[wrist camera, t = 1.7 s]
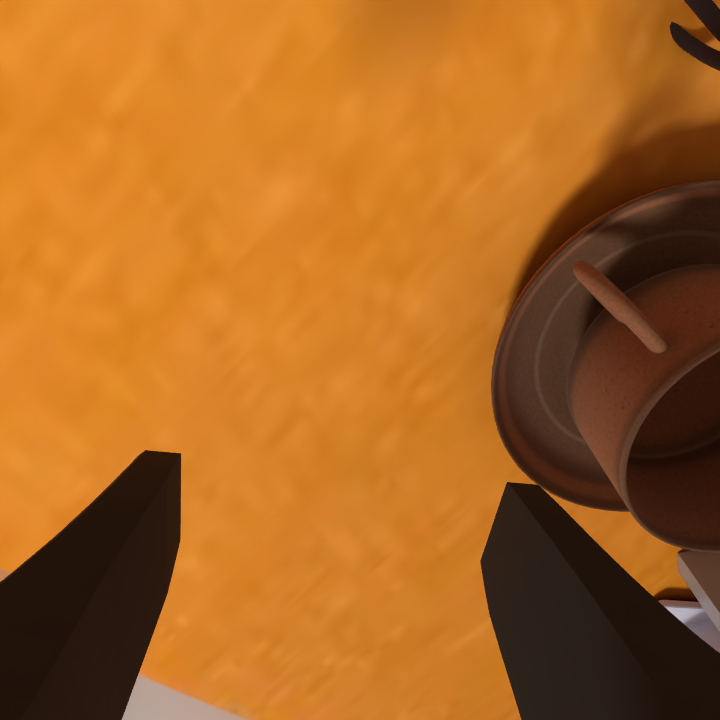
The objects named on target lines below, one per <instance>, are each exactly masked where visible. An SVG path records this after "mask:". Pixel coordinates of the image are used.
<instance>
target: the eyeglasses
mask: <svg viewBox="0 0 720 720" xmlns="http://www.w3.org/2000/svg"><path fill="white" fill-rule="evenodd" d="M684 1H685V2H686V3H687V4H688V6H689V7H690V8H691V9H692V10H693V12H694V13H695V14H696V15H697V16H698V18H699V19H700V20H701V21H702V22H703V23H704V25H705V26H706V27H707V28H708V29H709V30H710V32H711V33H712V34H713V35H714V36H715V37H716V39H717V40H718V41H719V42H720V9H719V8H718V7H717V5H716V4H715V3H714V2H713V1H712V0H684ZM670 31H671V35H672V37H673V39H674V41H675V42H676V43H677V44H678V45H679V47H681V48H682V49H683V50H684V51H686V52H687V53H689V54H690V55H692V56H693V57H695V58H696V59H698V60H699V61H701V62H703V63H705V64H707V65H708V66H710V67H712V68H715V69H717V70H719V71H720V51H718V50H715V49H713V48H711V47H709V46H707V45H706V44H704V43H702V42H701V41H699V40H698V39H696V38H695V37H693V36H692V35H690V34H689V33H688V32H686V31H685V30H684V29H683V28H681V27H680V26H679V25H678V24H676V23H673V22H671V25H670Z"/></svg>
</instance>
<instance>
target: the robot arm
mask: <svg viewBox="0 0 720 720" xmlns="http://www.w3.org/2000/svg"><path fill="white" fill-rule="evenodd" d="M180 525H181V453H169V452H158V451H147V450H145V451H144V452H143V453H141V454H140V455H139V456H138V457H137V458H136V459H135V460H134V461H133V462H132V463H131V464H130V465H129V466H128V467H127V468H126V469H125V470H124V471H123V472H122V473H121V474H120V475H119V476H118V477H117V478H116V479H115V480H114V481H113V482H112V483H111V484H110V485H109V486H108V487H107V488H106V489H105V490H104V491H103V492H102V493H101V494H100V495H99V496H98V497H97V498H96V499H95V500H94V501H93V502H92V503H91V504H90V505H89V506H88V507H87V508H86V509H84V510H83V511H82V512H81V513H80V514H79V515H78V516H77V517H76V518H75V519H74V520H73V521H71V522H70V523H69V524H68V525H67V526H66V527H65V528H64V529H63V530H62V531H61V532H60V533H58V534H57V535H56V536H55V537H54V538H53V539H52V540H50V541H49V542H48V543H47V544H46V545H44V546H43V547H42V548H41V549H40V550H39V551H37V552H36V553H35V554H34V555H33V556H31V557H30V558H29V559H28V560H27V561H25V562H24V563H23V564H22V565H21V566H20V567H18V568H17V569H16V570H15V571H14V572H12V573H11V574H10V575H9V576H7V577H6V578H5V579H4V580H2V581H1V582H0V720H121V719H122V717H123V714H124V712H125V709H126V706H127V703H128V701H129V698H130V695H131V693H132V689H133V687H134V684H135V682H136V679H137V676H138V673H139V671H140V668H141V665H142V662H143V660H144V657H145V654H146V652H147V649H148V646H149V643H150V641H151V638H152V635H153V632H154V630H155V627H156V624H157V621H158V618H159V616H160V613H161V610H162V607H163V605H164V602H165V599H166V596H167V593H168V589H169V585H170V581H171V577H172V573H173V569H174V565H175V560H176V556H177V552H178V548H179V543H180ZM481 568H482V574H483V580H484V587H485V592H486V598H487V603H488V609H489V614H490V617H491V621H492V624H493V628H494V631H495V634H496V638H497V641H498V644H499V648H500V651H501V654H502V658H503V661H504V664H505V667H506V671H507V674H508V677H509V680H510V684H511V687H512V690H513V693H514V697H515V700H516V703H517V706H518V710H519V713H520V716H521V719H522V720H720V632H719V631H718V629H717V628H716V626H715V625H714V623H713V622H712V620H711V619H710V618H709V616H708V615H707V613H706V612H705V610H704V609H703V607H702V606H701V604H700V603H699V602H691V601H676V600H659V601H657V600H656V599H655V598H654V597H653V596H652V595H651V594H650V593H648V592H647V591H646V590H645V589H644V588H643V587H642V586H641V585H640V584H639V583H638V582H637V581H636V580H634V579H633V578H632V577H631V576H630V575H629V574H628V573H627V572H626V571H625V570H624V569H623V568H622V567H621V566H620V565H619V564H618V563H617V562H616V561H615V560H614V559H613V558H612V557H611V556H610V555H609V554H608V553H606V552H605V551H604V550H603V549H602V548H601V547H600V546H599V545H598V544H597V543H596V542H595V541H594V540H593V539H592V538H591V537H590V536H589V535H588V534H587V533H586V532H585V531H584V529H583V528H582V527H581V526H580V525H579V524H578V523H577V522H576V521H575V520H574V519H573V518H572V517H571V516H570V515H569V514H568V513H567V512H566V511H565V510H564V509H563V508H562V507H561V506H560V505H559V504H558V503H557V502H556V501H555V500H554V499H553V498H552V497H551V496H550V495H549V494H547V493H546V492H545V491H544V490H543V489H542V488H541V487H540V486H539V485H533V484H522V483H511V482H507V484H506V487H505V490H504V493H503V496H502V499H501V502H500V505H499V507H498V510H497V513H496V516H495V519H494V522H493V525H492V528H491V531H490V534H489V537H488V540H487V543H486V546H485V549H484V552H483V555H482V558H481Z"/></svg>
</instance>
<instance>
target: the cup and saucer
mask: <svg viewBox="0 0 720 720" xmlns="http://www.w3.org/2000/svg"><path fill="white" fill-rule="evenodd" d="M491 392H492V406H493V412H494V418H495V422H496V425H497V429H498V432H499V435H500V437H501V439H502V442H503V444H504V446H505V448H506V449H507V451H508V453H509V454H510V456H511V458H512V459H513V460H514V462H515V463H516V464H517V466H518V467H519V468H520V469H521V470H522V471H523V472H524V473H525V474H526V475H527V476H528V477H529V478H530V479H531V480H533V481H534V482H535V483H536V484H538V485H539V486H540V487H542V488H543V489H545V490H547V491H548V492H550V493H552V494H554V495H556V496H558V497H560V498H562V499H564V500H567V501H569V502H572V503H575V504H578V505H582V506H586V507H589V508H595V509H601V510H608V511H622V512H631V514H632V515H633V517H634V518H635V519H636V521H637V522H638V523H639V524H640V525H641V526H642V527H643V528H644V529H645V530H646V531H648V532H649V533H650V534H652V535H653V536H655V537H656V538H658V539H660V540H662V541H664V542H666V543H668V544H671V545H674V546H676V547H680V548H684V549H688V550H693V551H701V552H720V179H714V180H701V181H695V182H689V183H683V184H678V185H674V186H670V187H666V188H662V189H659V190H656V191H653V192H651V193H648V194H645V195H642V196H639V197H637V198H635V199H633V200H630V201H628V202H626V203H624V204H622V205H619V206H618V207H616V208H614V209H612V210H610V211H609V212H607V213H605V214H603V215H602V216H600V217H598V218H597V219H595V220H594V221H592V222H591V223H589V224H588V225H586V226H585V227H583V228H582V229H581V230H579V231H578V232H577V233H576V234H574V235H573V236H572V237H571V238H569V239H568V240H567V241H566V242H565V243H564V244H562V245H561V246H560V247H559V248H558V249H557V250H556V251H555V252H554V253H553V254H552V255H551V256H550V257H549V258H548V259H547V260H546V261H545V262H544V263H543V265H542V266H541V267H540V268H539V269H538V270H537V271H536V273H535V274H534V275H533V277H532V278H531V279H530V281H529V282H528V283H527V284H526V286H525V287H524V289H523V290H522V292H521V294H520V295H519V297H518V298H517V300H516V301H515V303H514V305H513V307H512V309H511V311H510V313H509V315H508V317H507V319H506V321H505V324H504V326H503V329H502V331H501V334H500V337H499V340H498V344H497V347H496V351H495V355H494V361H493V367H492V379H491Z"/></svg>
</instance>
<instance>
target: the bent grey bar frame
mask: <svg viewBox="0 0 720 720" xmlns="http://www.w3.org/2000/svg"><path fill="white" fill-rule="evenodd" d="M678 567H679V573H680V575H681V576H682V577H683V579H684V580H685V582H686V583H687V585H688V586H689V588H690V589H691V591H692V592H693V594H694V595H695V597H696V598H697V600H698V601H699V603H700V604H701V606H702V607H703V609H704V610H705V612H706V613H707V615H708V616H709V618H710V619H711V620H712V622H713V623H714V625H715V626H716V628H717V629H718V631H719V632H720V552H701V551H693V550H689V551H685V552H681V553H678Z"/></svg>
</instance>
